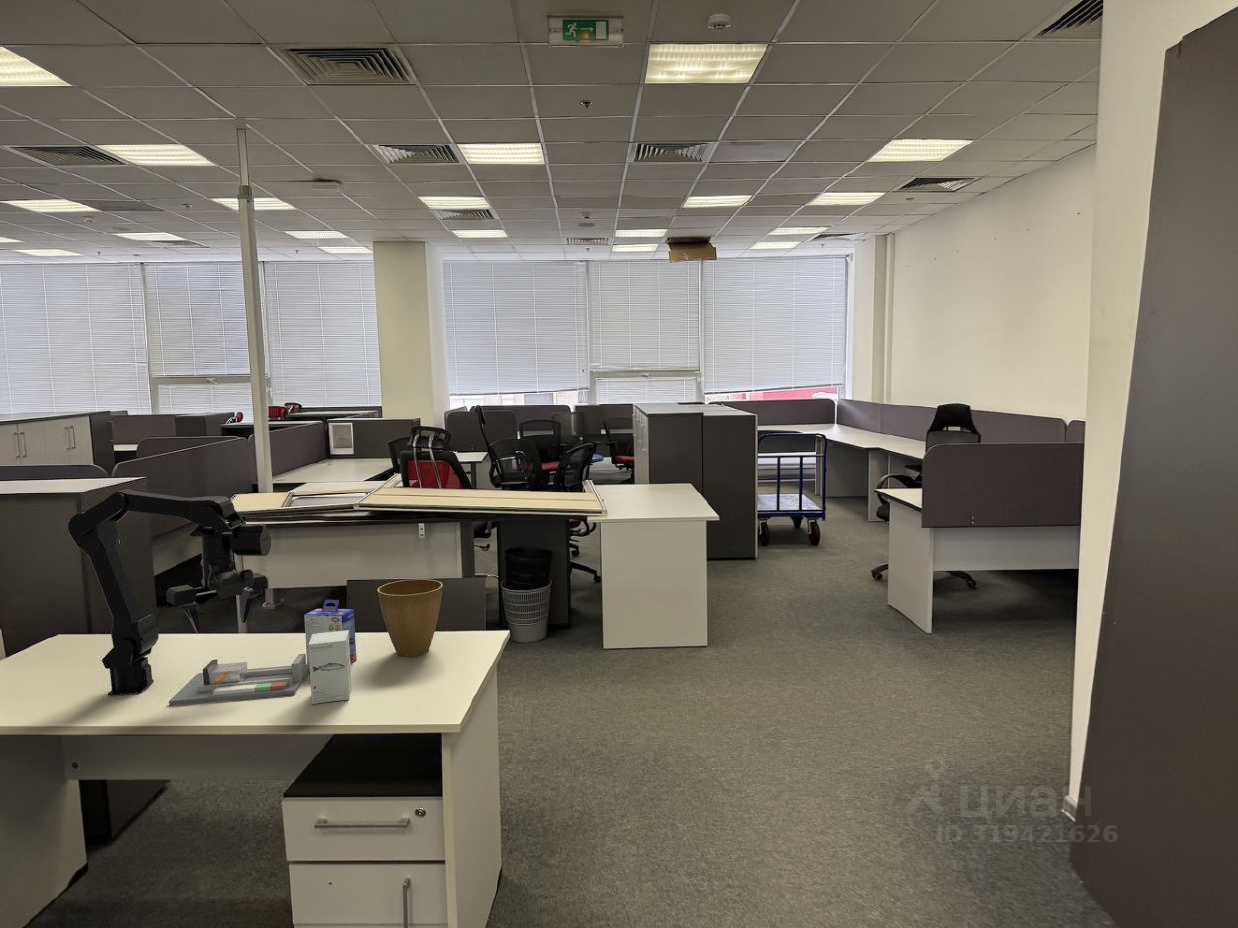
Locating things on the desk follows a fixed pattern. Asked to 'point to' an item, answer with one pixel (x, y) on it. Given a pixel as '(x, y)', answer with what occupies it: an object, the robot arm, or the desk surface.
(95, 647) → the desk surface
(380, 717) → the desk surface
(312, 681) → the supplement box
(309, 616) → the ink cartridge box
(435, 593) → the plant pot
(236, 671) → the grey block
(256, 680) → the board
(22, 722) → the desk surface
